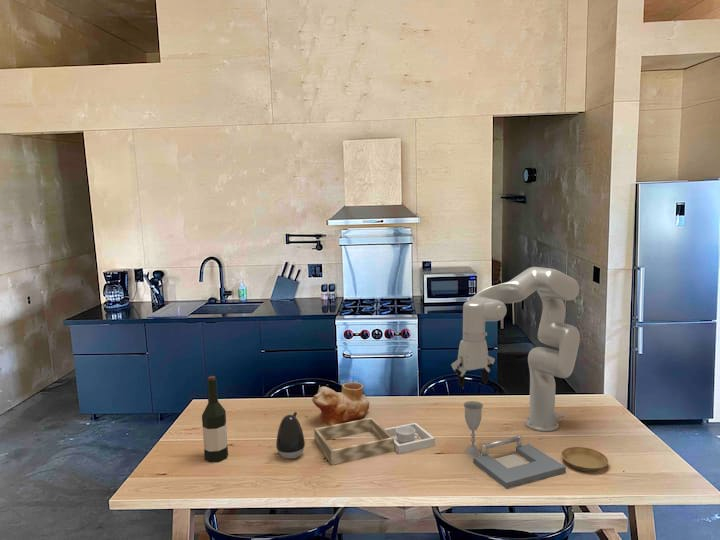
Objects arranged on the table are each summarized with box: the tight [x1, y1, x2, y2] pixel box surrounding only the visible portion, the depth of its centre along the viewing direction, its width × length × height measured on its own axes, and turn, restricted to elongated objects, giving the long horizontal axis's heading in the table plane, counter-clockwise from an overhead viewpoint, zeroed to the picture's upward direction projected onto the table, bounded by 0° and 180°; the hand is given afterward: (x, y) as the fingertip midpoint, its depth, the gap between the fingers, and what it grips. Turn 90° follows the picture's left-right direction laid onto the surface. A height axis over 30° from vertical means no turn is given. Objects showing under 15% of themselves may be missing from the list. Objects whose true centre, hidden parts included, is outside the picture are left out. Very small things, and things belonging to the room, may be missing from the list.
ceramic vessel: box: [311, 381, 370, 426], centre depth 221 cm, size 14×26×15 cm, turn 123°
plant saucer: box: [561, 446, 609, 473], centre depth 180 cm, size 15×15×3 cm
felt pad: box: [494, 453, 528, 468], centre depth 182 cm, size 9×9×1 cm
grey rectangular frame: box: [472, 443, 567, 490], centre depth 178 cm, size 24×18×2 cm
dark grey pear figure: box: [275, 411, 306, 460], centre depth 190 cm, size 10×10×15 cm
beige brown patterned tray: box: [313, 417, 395, 466], centre depth 196 cm, size 24×20×5 cm
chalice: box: [463, 400, 484, 457], centre depth 188 cm, size 7×7×18 cm
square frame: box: [384, 422, 436, 455], centre depth 199 cm, size 15×15×3 cm
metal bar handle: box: [481, 434, 523, 456], centre depth 186 cm, size 17×2×6 cm, turn 112°
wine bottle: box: [201, 375, 229, 464], centre depth 188 cm, size 8×8×30 cm
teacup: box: [393, 425, 420, 444], centre depth 199 cm, size 10×10×5 cm
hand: (473, 384), depth 186 cm, fingers open, 9 cm apart
